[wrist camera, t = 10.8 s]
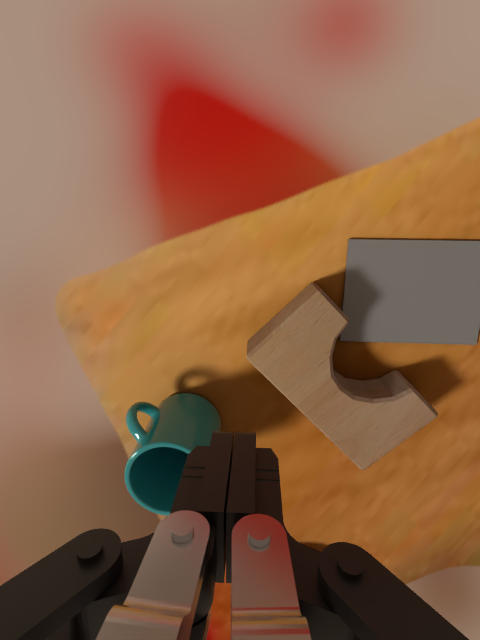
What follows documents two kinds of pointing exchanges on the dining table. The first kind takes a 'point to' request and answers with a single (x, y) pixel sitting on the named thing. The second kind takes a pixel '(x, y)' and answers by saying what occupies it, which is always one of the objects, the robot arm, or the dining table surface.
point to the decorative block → (335, 381)
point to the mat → (412, 291)
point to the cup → (166, 446)
